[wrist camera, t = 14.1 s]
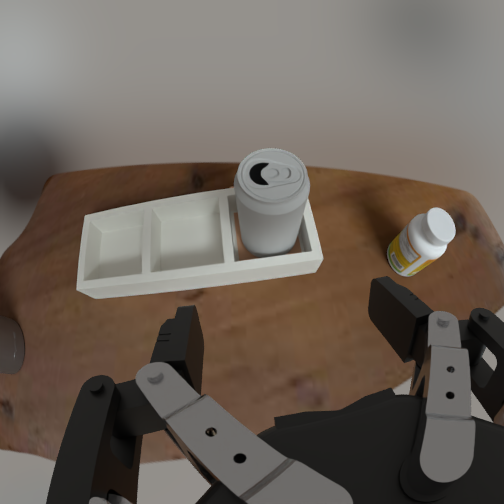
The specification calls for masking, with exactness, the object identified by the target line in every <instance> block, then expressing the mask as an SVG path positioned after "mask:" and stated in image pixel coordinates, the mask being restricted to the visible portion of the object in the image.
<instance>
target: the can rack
mask: <svg viewBox="0 0 504 504" xmlns="http://www.w3.org/2000/svg"><path fill="white" fill-rule="evenodd" d="M322 260H323V255H322V251H321V247H320V242H319V238H318V234H317V230H316V226H315V222H314V219H313V215H312V211H311V207H310V204H309V200H308V198H307V202H306V206H305V210H304V213H303V217H302V221H301V224H300V228H299V231H298V235H297V238H296V242H295V244H294V246H293V248H292V249H291V250H290V251H289V252H288V253H287V254H286V255H280V256H273V257H266V258H258V257H256V256H254V255H253V254H251V253H250V252H249V251H248V250H247V249H246V248H245V246H244V244H243V242H242V238H241V232H240V225H239V218H238V211H237V204H236V197H235V190H234V186H231V187H230V188H228V189H221V190H214V191H207V192H201V193H195V194H188V195H182V196H177V197H171V198H165V199H160V200H155V201H149V202H144V203H139V204H134V205H129V206H125V207H120V208H115V209H111V210H106V211H102V212H98V213H93V214H89V215H85V219H84V225H83V231H82V238H81V246H80V254H79V264H78V276H77V290H78V291H80V292H82V293H84V294H86V295H88V296H90V297H93V298H95V299H101V298H112V297H123V296H133V295H143V294H153V293H162V292H171V291H180V290H189V289H197V288H206V287H214V286H222V285H230V284H237V283H245V282H252V281H260V280H267V279H274V278H281V277H288V276H295V275H301V274H308V273H315V272H316V271H317V269H318V267H319V266H320V264H321V262H322Z"/></svg>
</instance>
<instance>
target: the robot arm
mask: <svg viewBox="0 0 504 504" xmlns="http://www.w3.org/2000/svg"><path fill="white" fill-rule="evenodd" d="M368 313H369V317H370V319H371V321H372V322H373V323H374V325H375V326H376V327H377V328H378V330H379V331H380V332H381V333H382V335H383V336H384V337H385V339H386V340H387V341H388V342H389V344H390V345H391V346H392V348H393V349H394V350H395V352H396V353H397V354H398V355H399V357H400V358H401V359H402V361H403V362H404V363H406V362H409V361H411V360H415V361H416V362H415V364H414V368H413V375H412V381H411V387H410V393H409V395H395V393H394V392H393V390H392V388H388V389H386V390H383V391H380V392H377V393H374V394H371V395H368V396H365V397H363V398H361V399H360V400H358V401H356V402H354V403H352V404H351V405H349V406H347V407H345V408H343V409H341V410H337V411H314V412H301V413H296V414H291V415H285V416H280V417H274V420H275V426H273V427H271V428H269V429H267V430H265V431H263V432H261V433H259V434H258V435H255V434H254V433H252V432H251V431H250V430H248V429H247V428H246V427H245V426H244V425H242V424H241V423H240V422H239V421H237V420H236V419H235V418H234V417H233V416H231V415H230V414H229V413H228V412H227V411H226V410H224V409H223V408H222V407H221V406H220V405H219V404H218V403H216V402H215V401H214V400H213V399H212V398H211V397H210V396H208V395H206V394H204V395H203V396H201V384H202V369H203V355H204V339H203V334H202V330H201V326H200V322H199V317H198V313H197V309H196V306H195V305H192V306H182V307H178V308H177V312H176V316H175V319H167V320H166V322H165V323H164V324H163V325H162V326H161V328H160V331H159V336H158V338H157V342H156V344H155V347H154V351H153V354H152V357H151V361H150V364H148V365H145V366H144V367H142V368H141V369H140V370H139V371H138V373H137V375H136V379H134V380H131V381H127V382H123V383H119V384H115V383H114V381H113V380H112V379H111V378H110V377H108V376H105V375H99V376H95V377H92V378H90V379H89V380H87V381H86V382H85V383H84V384H83V386H82V388H81V390H80V393H79V395H78V398H77V400H76V403H75V406H74V408H73V411H72V414H71V417H70V419H69V422H68V425H67V428H66V431H65V434H64V437H63V440H62V444H61V447H60V450H59V454H58V457H57V461H56V464H55V468H54V472H53V475H52V479H51V484H50V488H49V492H48V497H47V502H46V504H137V490H138V475H139V465H140V455H141V446H142V438H143V434H148V433H152V432H156V431H160V430H164V431H165V432H166V434H167V435H168V436H169V438H170V439H171V440H172V441H173V443H174V444H175V445H176V446H177V447H178V449H179V450H180V451H181V452H182V453H183V454H184V456H185V457H186V458H187V459H188V460H189V461H190V462H191V464H192V465H193V466H194V468H195V469H196V470H197V471H198V472H199V473H200V474H201V476H202V477H203V478H204V479H205V480H206V481H207V482H208V483H209V484H210V485H211V487H210V488H209V489H208V490H207V491H206V493H205V494H204V495H203V496H202V497H201V498H200V499H199V500H198V501H197V502H196V504H504V322H502V321H501V320H500V319H499V318H498V317H497V316H496V315H495V314H493V313H492V312H491V311H489V310H487V309H484V308H476V309H473V310H472V311H471V314H470V317H469V320H459V321H458V320H457V318H456V317H455V316H454V315H452V314H450V313H448V312H444V311H436V312H434V311H433V310H431V309H430V308H429V307H428V306H427V305H426V304H425V303H424V302H422V301H421V300H420V299H418V297H417V296H416V295H413V293H412V292H411V291H410V290H409V289H407V288H405V287H403V286H401V285H399V284H397V283H395V282H394V281H393V280H392V279H391V278H390V277H388V276H386V277H381V278H376V279H373V280H372V282H371V288H370V297H369V306H368ZM486 347H487V348H488V349H489V350H490V351H491V352H492V353H493V354H494V355H495V357H496V359H497V366H496V369H495V371H493V370H492V369H491V367H490V366H489V365H488V364H487V363H486V361H485V360H484V359H483V358H482V355H483V353H484V351H485V349H486ZM23 360H24V339H23V334H22V331H21V329H20V327H19V325H18V324H17V322H16V321H14V320H13V319H10V318H7V317H4V316H1V315H0V373H5V374H15V373H17V372H18V371H19V370H20V368H21V366H22V363H23ZM471 391H472V392H473V394H474V395H475V396H476V398H477V399H478V400H479V402H480V403H481V405H482V406H483V408H484V409H485V411H486V412H487V413H488V415H489V416H490V418H491V419H492V421H493V422H494V423H492V422H489V421H486V420H483V419H480V418H476V417H474V416H471Z"/></svg>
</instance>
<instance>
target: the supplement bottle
mask: <svg viewBox="0 0 504 504" xmlns="http://www.w3.org/2000/svg"><path fill="white" fill-rule="evenodd" d="M454 236H455V225H454V222H453V220H452V218H451V217H450V215H449V214H448V213H447V212H446V211H444V210H443V209H440V208H432V209H430V210H429V211H428V212H427V213H426V214H419V215H417V216H415V217H414V218H413V219H412V220H411V221H410V222H409V224H408V225H407V226H406V227H405V228H404V229H403V230H402V231H401V232H400V233H399V234H398V235H397V236H396V238H395V239H394V240H393V241H392V242H391V243H390V245H389V247H388V250H387V257H388V261H389V264H390V266H391V267H392V269H393V270H394V271H395V272H396V273H398V274H400V275H402V276H412V275H414V274H416V273H417V272H419V271H420V270H422V269H423V268H425V267H426V266H427V265H429V264H430V263H432V262H433V261H435V260H436V259H437V258H439V257H440V256H441V255H442V254H443V253H444V252H445V250H446V248H447V244H448V243H449V242H450V241H451V240H452V239H453V238H454Z"/></svg>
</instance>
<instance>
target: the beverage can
mask: <svg viewBox="0 0 504 504" xmlns="http://www.w3.org/2000/svg"><path fill="white" fill-rule="evenodd" d="M234 190H235V197H236V204H237V211H238V218H239V225H240V232H241V238H242V242H243V244H244V246H245V248H246V249H247V250H248V251H249V252H250V253H251V254H253V255H254V256H256V257H258V258H266V257H273V256H280V255H286V254H287V253H288V252H289V251H290V250H291V249H292V248H293V246H294V244H295V242H296V238H297V235H298V231H299V228H300V224H301V221H302V217H303V213H304V210H305V206H306V202H307V198H308V195H309V190H310V182H309V178H308V175H307V170H306V167H305V165H304V164H303V163H302V161H301V160H300V159H299V158H298V157H297V156H295V155H294V154H292V153H290V152H288V151H285V150H282V149H276V148H266V149H260V150H257V151H255V152H252V153H251V154H249V155H248V156H246V157H245V159H243V161H242V162H241V163H240V165H239V167H238V171H237V173H236V175H235V179H234Z"/></svg>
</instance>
